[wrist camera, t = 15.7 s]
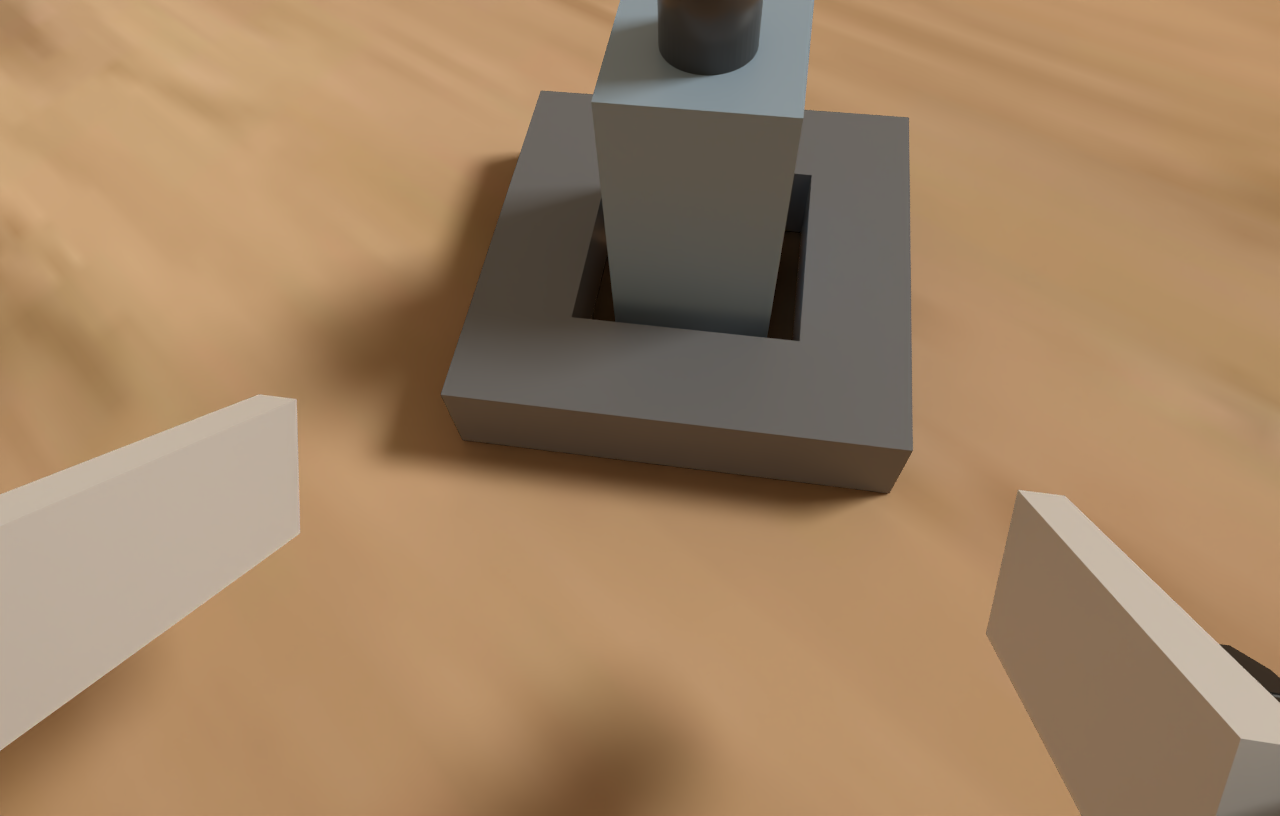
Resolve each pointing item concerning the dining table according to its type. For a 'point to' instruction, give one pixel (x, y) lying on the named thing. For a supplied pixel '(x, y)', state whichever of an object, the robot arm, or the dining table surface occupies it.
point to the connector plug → (700, 157)
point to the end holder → (690, 359)
